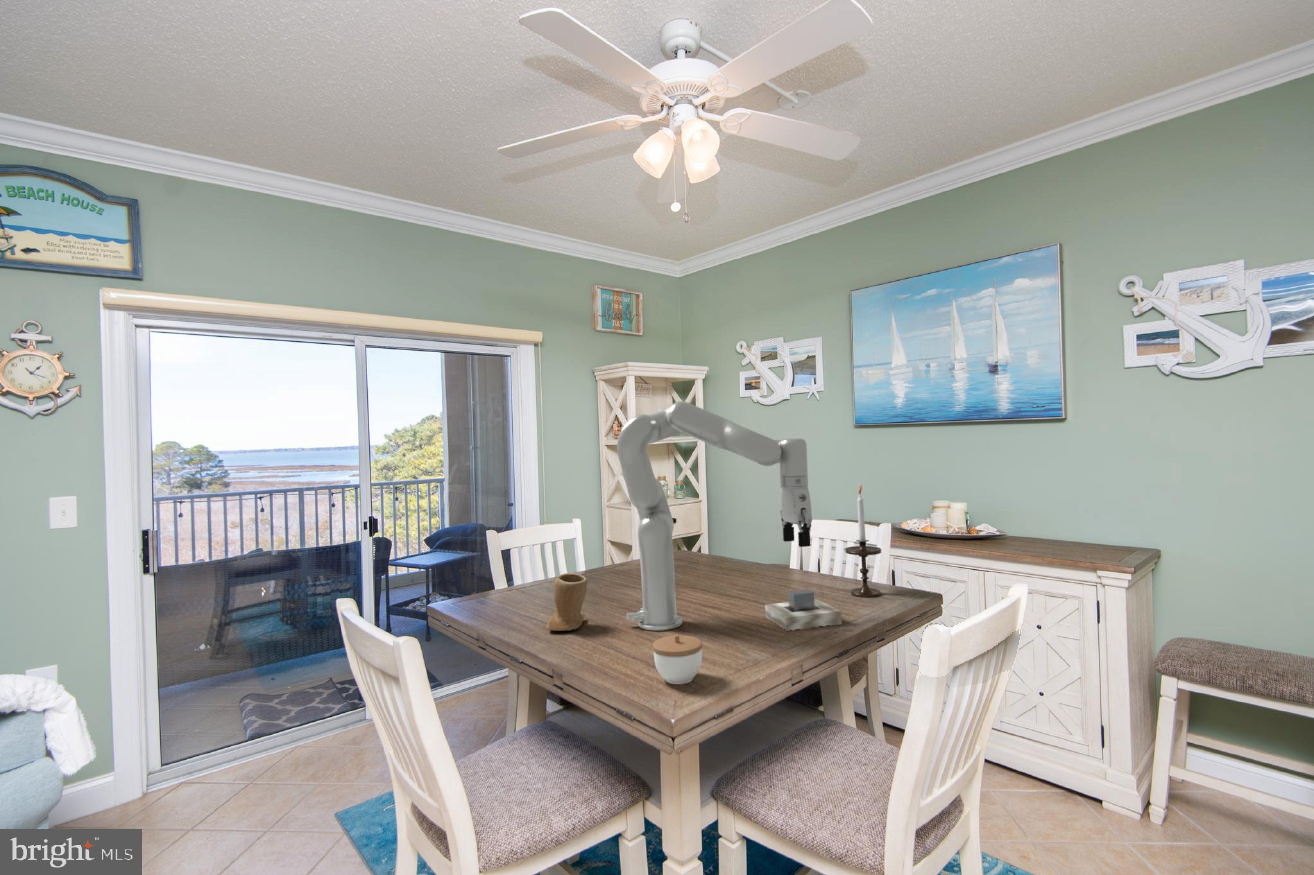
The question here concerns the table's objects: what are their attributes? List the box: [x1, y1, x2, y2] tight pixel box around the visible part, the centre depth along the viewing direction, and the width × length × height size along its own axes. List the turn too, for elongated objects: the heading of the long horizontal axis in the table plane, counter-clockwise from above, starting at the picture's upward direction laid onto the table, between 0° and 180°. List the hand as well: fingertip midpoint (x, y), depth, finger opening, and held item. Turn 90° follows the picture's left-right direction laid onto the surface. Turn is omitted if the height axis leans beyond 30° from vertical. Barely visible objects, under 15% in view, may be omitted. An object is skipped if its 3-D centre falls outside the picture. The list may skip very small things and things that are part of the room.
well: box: [764, 598, 842, 632], centre depth 164 cm, size 16×14×4 cm
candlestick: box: [844, 484, 882, 599], centre depth 189 cm, size 11×11×35 cm
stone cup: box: [546, 572, 588, 632], centre depth 171 cm, size 15×12×15 cm
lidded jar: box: [652, 634, 703, 685], centre depth 128 cm, size 11×11×9 cm
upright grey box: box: [788, 589, 815, 612], centre depth 164 cm, size 6×4×8 cm, turn 103°
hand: (796, 543), depth 165 cm, fingers open, 9 cm apart
